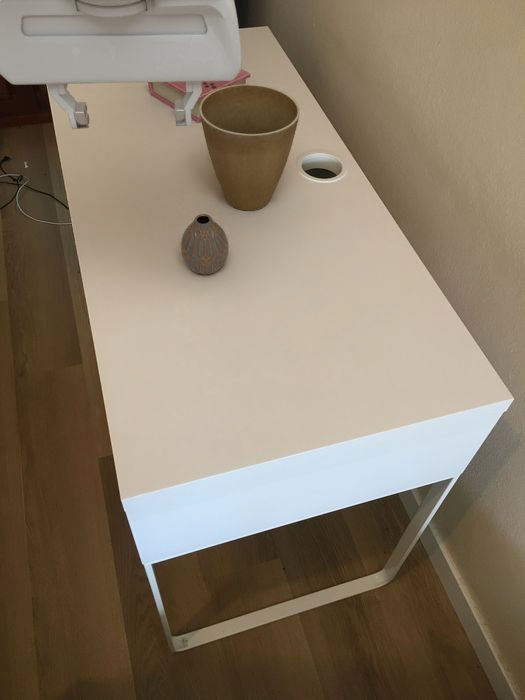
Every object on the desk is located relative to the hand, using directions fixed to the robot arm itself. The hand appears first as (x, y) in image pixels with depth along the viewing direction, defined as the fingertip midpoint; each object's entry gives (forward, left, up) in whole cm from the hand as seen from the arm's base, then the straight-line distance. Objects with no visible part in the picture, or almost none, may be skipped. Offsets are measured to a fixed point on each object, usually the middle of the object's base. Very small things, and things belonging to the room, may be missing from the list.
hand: (132, 124), depth 53 cm
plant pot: (+14, +30, -31) cm, 45 cm away
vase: (+6, +14, -31) cm, 35 cm away
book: (+7, +64, -31) cm, 72 cm away
